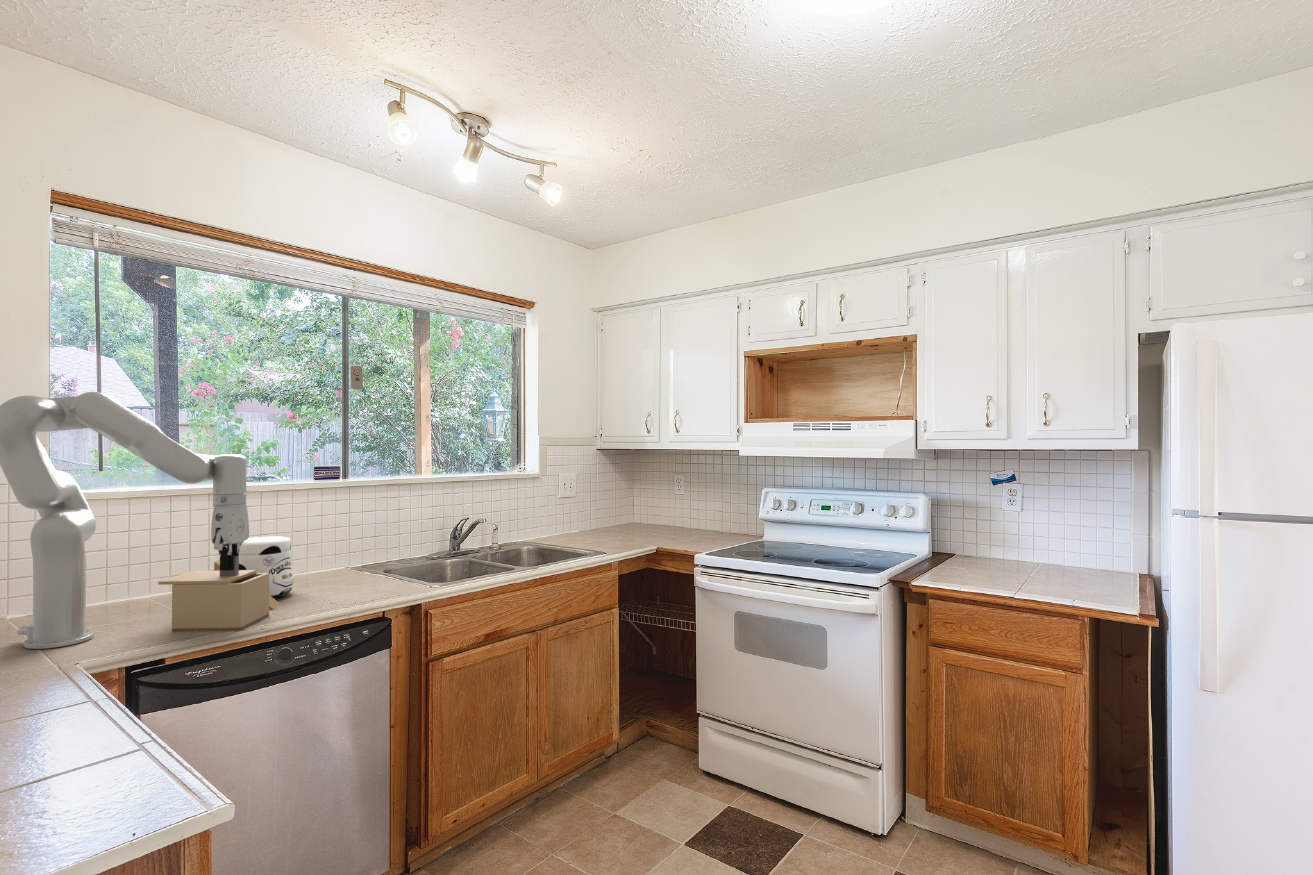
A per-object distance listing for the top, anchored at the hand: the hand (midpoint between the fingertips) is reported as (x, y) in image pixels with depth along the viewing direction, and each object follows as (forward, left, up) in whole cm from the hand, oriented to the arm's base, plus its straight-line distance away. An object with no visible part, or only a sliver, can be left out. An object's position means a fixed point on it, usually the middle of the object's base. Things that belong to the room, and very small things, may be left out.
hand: (229, 568), depth 175 cm
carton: (-2, 0, -15) cm, 15 cm away
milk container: (-7, +30, -15) cm, 34 cm away
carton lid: (-5, 0, -3) cm, 6 cm away
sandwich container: (-3, +16, -15) cm, 22 cm away
